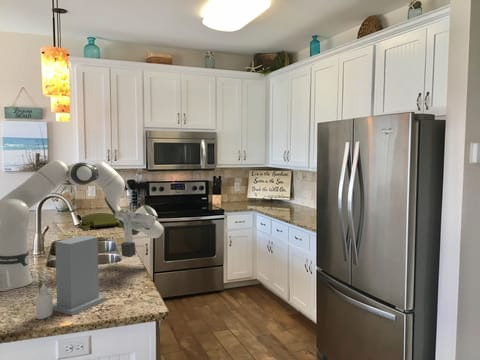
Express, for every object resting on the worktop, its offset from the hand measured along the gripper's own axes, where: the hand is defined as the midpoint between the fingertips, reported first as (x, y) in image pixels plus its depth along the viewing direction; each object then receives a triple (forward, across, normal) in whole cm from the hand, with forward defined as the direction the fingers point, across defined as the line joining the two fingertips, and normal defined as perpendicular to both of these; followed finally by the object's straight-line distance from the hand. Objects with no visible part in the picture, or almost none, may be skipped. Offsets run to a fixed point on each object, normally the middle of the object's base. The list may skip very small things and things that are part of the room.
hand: (123, 211), depth 185 cm
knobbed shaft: (-9, 0, +7) cm, 11 cm away
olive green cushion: (-92, -109, -16) cm, 143 cm away
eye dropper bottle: (+25, +7, +51) cm, 58 cm away
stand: (+14, +9, +45) cm, 48 cm away
